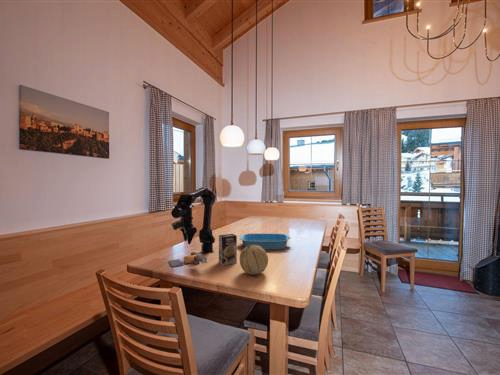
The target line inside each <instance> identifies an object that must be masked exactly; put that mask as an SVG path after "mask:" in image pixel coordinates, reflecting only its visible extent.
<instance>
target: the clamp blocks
mask: <svg viewBox="0 0 500 375" xmlns="http://www.w3.org/2000/svg"><path fill="white" fill-rule="evenodd" d="M196 254H197V253H196V252H195V251H193V252H190V256H191V255H196ZM193 264H194V265H199V264H200V261H199V260H198V259H197V258H196V256H194V262H193Z"/></svg>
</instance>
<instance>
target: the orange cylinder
mask: <svg viewBox="0 0 500 375" xmlns="http://www.w3.org/2000/svg"><path fill="white" fill-rule="evenodd" d="M194 256H196V255H191V254H190V255H186V256H183V264H186V265H187V264H192V263H194Z"/></svg>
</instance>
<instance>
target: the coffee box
mask: <svg viewBox="0 0 500 375" xmlns="http://www.w3.org/2000/svg"><path fill="white" fill-rule="evenodd" d="M237 243H238V236H237V235H236V234H235V233H229V234H227V233H225V234H219V235H218V263H219V264H220V265H221V266H227V265H232V264H237V263H238V262H237V260H238V258H237V253H238V249H237V248H238V247H237V246H238V244H237Z"/></svg>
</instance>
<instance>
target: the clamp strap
mask: <svg viewBox="0 0 500 375" xmlns="http://www.w3.org/2000/svg"><path fill="white" fill-rule="evenodd" d="M196 258H197V259H198V260H199V263H201V264H207V263H208V259H207V257H206V256H205V255H204V254H202V252H198V253H196Z"/></svg>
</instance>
